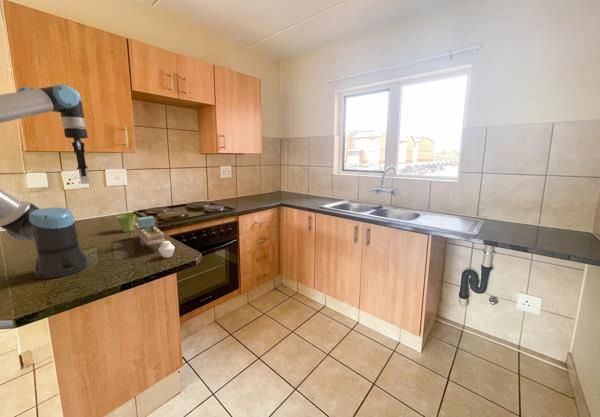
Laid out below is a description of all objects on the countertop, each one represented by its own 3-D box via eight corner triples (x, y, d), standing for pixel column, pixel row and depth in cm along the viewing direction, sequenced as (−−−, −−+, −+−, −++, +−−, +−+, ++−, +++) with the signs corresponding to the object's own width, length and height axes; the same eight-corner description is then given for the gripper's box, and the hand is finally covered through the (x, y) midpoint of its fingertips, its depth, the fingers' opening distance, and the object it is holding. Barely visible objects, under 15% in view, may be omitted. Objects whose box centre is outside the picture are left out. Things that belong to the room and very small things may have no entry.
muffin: (160, 254, 114) (158, 239, 113) (176, 252, 116) (174, 237, 115) (158, 260, 108) (156, 244, 107) (174, 257, 110) (173, 242, 109)
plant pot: (120, 229, 154) (118, 215, 152) (139, 227, 158) (137, 213, 156) (117, 233, 145) (114, 218, 144) (137, 231, 149) (134, 216, 148)
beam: (166, 250, 119) (164, 232, 118) (149, 254, 115) (146, 236, 113) (149, 234, 143) (147, 219, 141) (135, 237, 138) (132, 222, 137)
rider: (156, 231, 128) (154, 217, 127) (141, 233, 124) (139, 219, 123) (153, 229, 132) (151, 215, 131) (139, 231, 128) (137, 218, 127)
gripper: (87, 127, 110) (97, 184, 115) (85, 129, 119) (94, 181, 124) (63, 126, 105) (74, 185, 110) (63, 129, 115) (74, 183, 120)
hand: (85, 183), depth 117 cm, fingers closed
